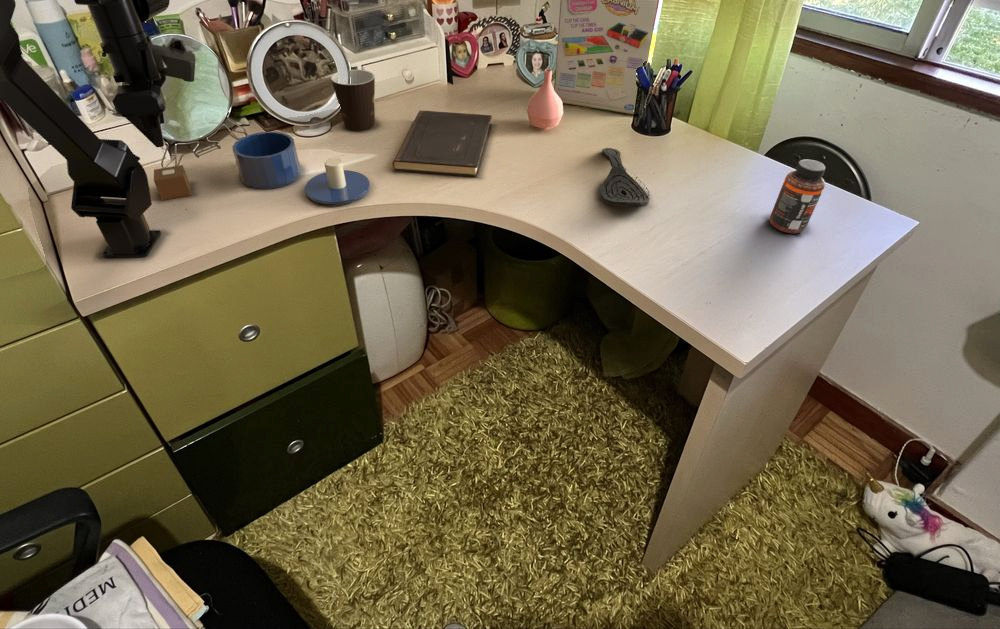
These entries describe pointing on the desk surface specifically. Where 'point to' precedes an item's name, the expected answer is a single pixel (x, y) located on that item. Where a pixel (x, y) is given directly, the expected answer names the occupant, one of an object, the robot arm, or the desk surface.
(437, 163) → the hardcover book
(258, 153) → the blue round container
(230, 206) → the desk surface
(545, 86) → the pink vase
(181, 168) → the small brown cardboard box
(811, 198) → the supplement bottle
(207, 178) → the desk surface
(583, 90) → the game box
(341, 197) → the blue pot lid
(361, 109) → the coffee mug
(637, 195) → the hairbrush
